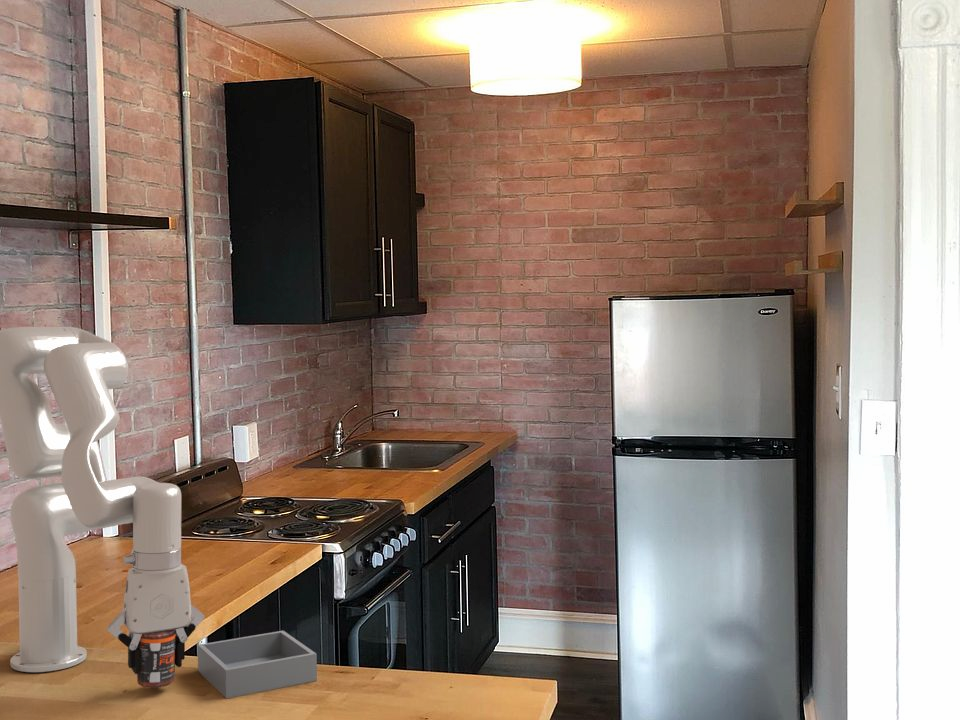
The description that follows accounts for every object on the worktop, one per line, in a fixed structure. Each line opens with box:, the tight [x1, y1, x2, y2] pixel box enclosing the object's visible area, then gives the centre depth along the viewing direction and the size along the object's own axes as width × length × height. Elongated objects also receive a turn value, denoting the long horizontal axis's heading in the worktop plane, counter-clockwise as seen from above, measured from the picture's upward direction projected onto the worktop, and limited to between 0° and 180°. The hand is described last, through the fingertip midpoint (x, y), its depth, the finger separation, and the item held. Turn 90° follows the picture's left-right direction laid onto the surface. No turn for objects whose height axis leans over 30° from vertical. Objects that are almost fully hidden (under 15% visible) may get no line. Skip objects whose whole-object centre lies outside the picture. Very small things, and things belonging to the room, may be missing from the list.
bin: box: [197, 630, 318, 699], centre depth 177 cm, size 16×16×5 cm
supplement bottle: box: [136, 629, 176, 689], centre depth 169 cm, size 6×6×11 cm
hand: (156, 666), depth 170 cm, fingers closed on supplement bottle, 6 cm apart
